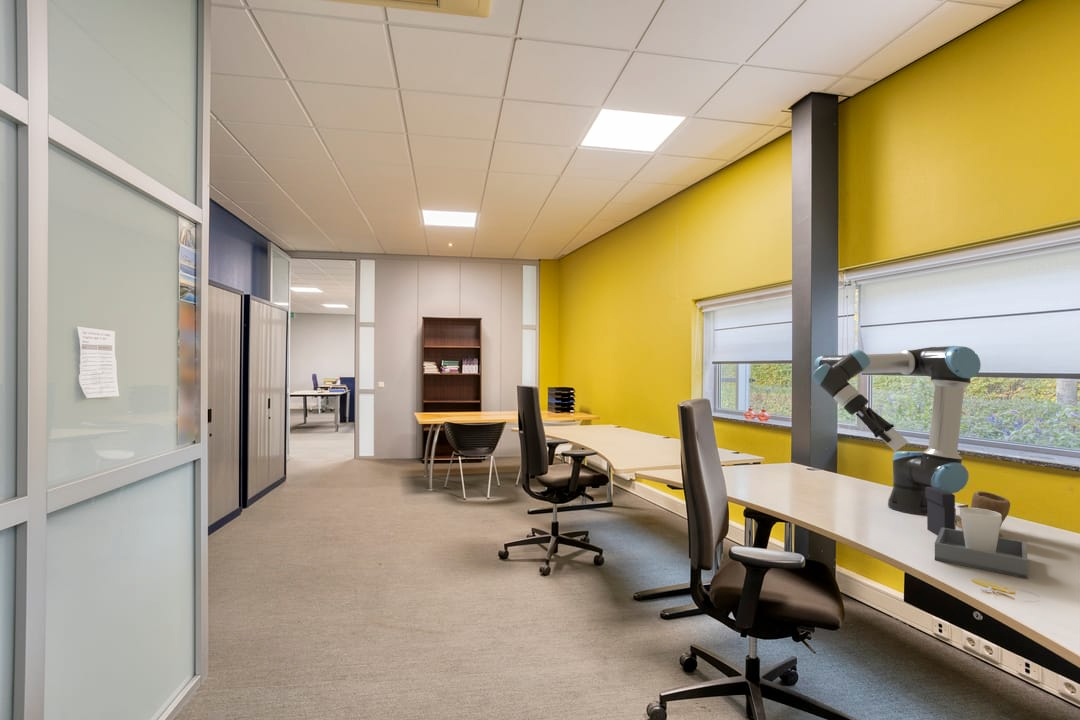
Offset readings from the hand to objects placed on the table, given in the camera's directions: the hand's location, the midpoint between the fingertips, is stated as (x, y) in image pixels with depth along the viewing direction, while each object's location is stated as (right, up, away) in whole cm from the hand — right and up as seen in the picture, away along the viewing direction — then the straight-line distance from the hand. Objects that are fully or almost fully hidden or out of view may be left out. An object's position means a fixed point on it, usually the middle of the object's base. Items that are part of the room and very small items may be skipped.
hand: (902, 446), depth 176 cm
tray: (+8, -30, -22) cm, 38 cm away
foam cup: (+8, -29, -22) cm, 37 cm away
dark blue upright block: (+13, -30, 0) cm, 33 cm away
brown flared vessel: (+26, -30, -2) cm, 40 cm away
